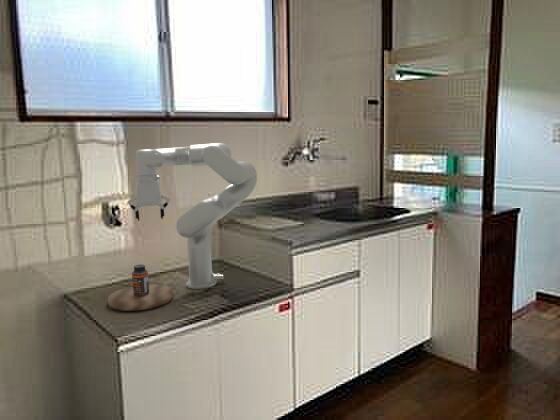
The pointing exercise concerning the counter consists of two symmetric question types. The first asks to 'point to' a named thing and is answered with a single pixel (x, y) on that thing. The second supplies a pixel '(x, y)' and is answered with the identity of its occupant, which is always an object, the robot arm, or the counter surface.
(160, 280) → the counter surface
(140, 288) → the supplement bottle
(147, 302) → the turntable
